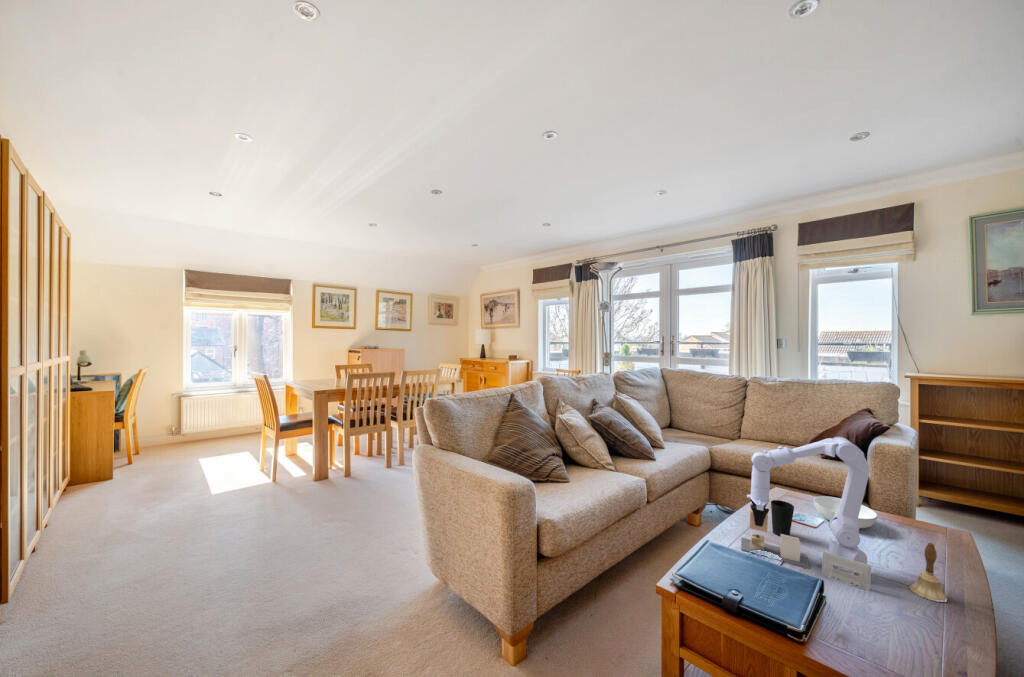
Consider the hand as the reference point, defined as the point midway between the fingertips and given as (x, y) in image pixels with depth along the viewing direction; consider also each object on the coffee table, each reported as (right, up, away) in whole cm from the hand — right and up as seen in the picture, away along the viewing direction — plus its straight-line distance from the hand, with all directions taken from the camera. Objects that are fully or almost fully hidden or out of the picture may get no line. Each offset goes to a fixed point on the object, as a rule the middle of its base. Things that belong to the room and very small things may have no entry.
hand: (758, 522), depth 145 cm
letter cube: (0, -9, 0) cm, 9 cm away
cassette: (+17, -11, -18) cm, 27 cm away
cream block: (+8, -10, -5) cm, 14 cm away
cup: (+16, -10, +12) cm, 23 cm away
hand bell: (+39, -12, -23) cm, 46 cm away
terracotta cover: (0, -2, 0) cm, 2 cm away
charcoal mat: (+4, -10, -2) cm, 11 cm away
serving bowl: (+51, -11, +24) cm, 58 cm away
